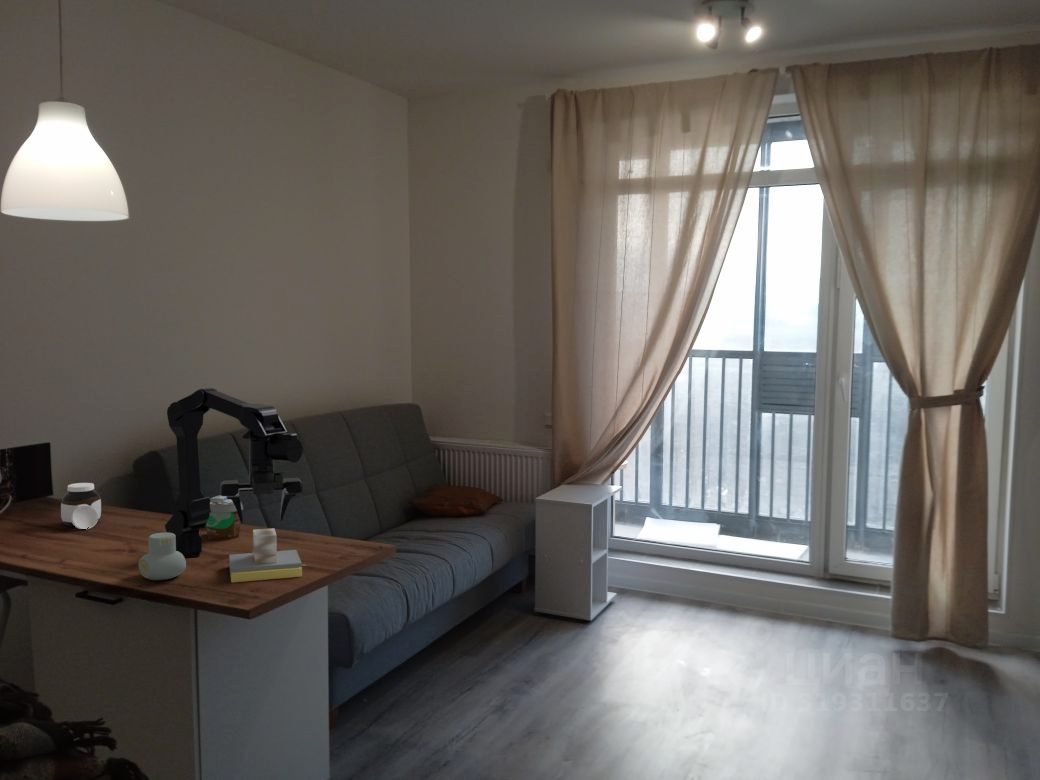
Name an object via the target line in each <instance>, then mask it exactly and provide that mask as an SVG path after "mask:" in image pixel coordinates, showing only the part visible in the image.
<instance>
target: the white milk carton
mask: <svg viewBox="0 0 1040 780" xmlns="http://www.w3.org/2000/svg"><path fill="white" fill-rule="evenodd" d="M277 537H278V536H277V532H276V529H275V527H274V528H258V529H252V553H253V558H254V562H255V564H264V563H277V551H278V550H277V547H278V546H277V544H278V542H277Z"/></svg>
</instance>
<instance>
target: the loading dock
mask: <svg viewBox="0 0 1040 780" xmlns="http://www.w3.org/2000/svg"><path fill="white" fill-rule="evenodd" d="M228 556H229V557H228V559H229V560H228V562H229V563H228V564H229V567H228V568H229V573H230V574H229V576H230V582H231V583H243V582H252V581H254V582H255V581H265V580H275V579H276V580H277V579H288V578H300V577H303V565H302V564H303V563H302V560H301V558H300V555H299V553H298V551H297V549H288V550H287V549H286V550H277V563H264V564H255V562H254V558H253V552H249V553H236V554H235V553H233V554H232V553H231V554H229V555H228Z"/></svg>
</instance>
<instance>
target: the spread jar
mask: <svg viewBox="0 0 1040 780" xmlns="http://www.w3.org/2000/svg"><path fill="white" fill-rule="evenodd" d="M101 515H102V499H101V496H100V494H98V492H97V491H96V490H95V484H94V483H92V482H78V483H70V484H68V485H67V492H66V493H65V494H64V495H63V497H62V499H61V503H60V517H61V520H62V522H63V523H64V524H65V525H66V526H68V527H69V526H75V527H74V528H77V529H79V530H81V529H86V530H89V529H92V528H94V526H96V524H97V522H98V521H99V520H100V518H101ZM88 527H89V528H88ZM87 528H88V529H87Z"/></svg>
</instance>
